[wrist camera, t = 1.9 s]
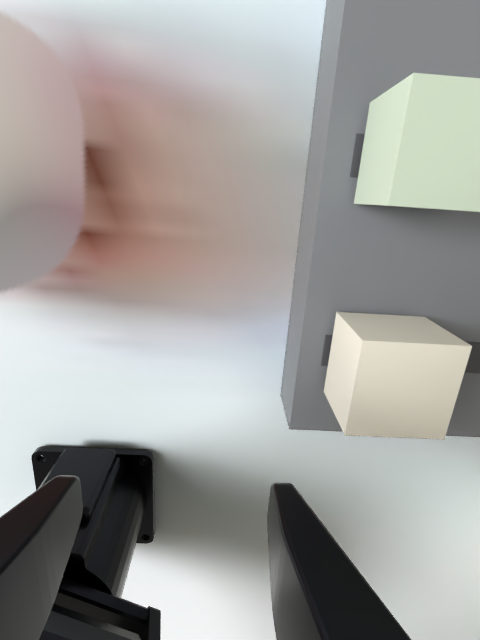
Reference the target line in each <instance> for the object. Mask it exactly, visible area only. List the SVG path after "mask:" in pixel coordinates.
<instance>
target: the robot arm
mask: <svg viewBox="0 0 480 640" xmlns="http://www.w3.org/2000/svg"><path fill="white" fill-rule="evenodd" d="M41 455H43V456H44V457H42V456H41ZM141 459H146V460H147V461H143V460H141ZM32 464H33V471H34V477H35V484H36V491H35V492H34V493H32V494H31V495H30V496H28V497H27V498H26V499H24V500H23V501H22V502H20V503H19V504H18V505H16V506H15V507H13V508H12V509H11V510H9V511H8V512H7V513H5V514H4V515H3V516H1V517H0V640H160V618H161V612H160V610H158V609H155V608H153V607H150V606H149V607H148V608H146V607H143V606H140V605H138V604H135V603H132V602H130V601H127V600H125V599H122V598H121V596H122V592H123V589H124V585H125V581H126V578H127V574H128V570H129V567H130V563H131V559H132V556H133V552H134V548H135V545H136V543H150V542H152V541H153V538H154V534H155V492H154V456H153V454H152V453H151V452H150V451H147V450H131V449H104V448H77V447H51V446H42V447H39V448H37V449H36V451H35V452H34V453H33V455H32ZM267 527H268V545H269V563H270V581H271V598H272V610H273V618H274V625H275V632H276V638H277V640H411V639H410V637H409V636H408V635H407V634H406V632H405V631H404V630H403V628H402V627H401V626H400V624H399V623H398V622H397V620H396V619H395V618H394V617H393V615H392V614H391V613H390V611H389V610H388V609H387V607H386V606H385V605H384V603H383V602H382V601H381V600H380V598H379V597H378V596H377V594H376V593H375V592H374V590H373V589H372V588H371V586H370V585H369V584H368V583H367V581H366V580H365V579H364V577H363V576H362V575H361V573H360V572H359V571H358V569H357V568H356V567H355V566H354V564H353V563H352V562H351V560H350V559H349V558H348V556H347V555H346V554H345V552H344V551H343V550H342V549H341V547H340V546H339V545H338V543H337V542H336V541H335V539H334V538H333V537H332V535H331V534H330V533H329V532H328V530H327V529H326V528H325V526H324V525H323V524H322V522H321V521H320V520H319V518H318V517H317V516H316V515H315V513H314V512H313V511H312V509H311V508H310V507H309V505H308V504H307V503H306V501H305V500H304V499H303V498H302V496H301V495H300V494H299V492H298V491H297V490H296V488H295V487H294V486H293V485H292V484H290V483H273V484H272V485H271V489H270V498H269V506H268V516H267Z"/></svg>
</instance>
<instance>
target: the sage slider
mask: <svg viewBox="0 0 480 640" xmlns="http://www.w3.org/2000/svg"><path fill="white" fill-rule="evenodd" d="M354 204H366V205H380V206H395V207H409V208H424V209H438V210H453V211H469V212H480V78H469V77H458V76H446V75H435V74H423V73H413V74H411V75H410V76H408V77H407V78H405V79H404V80H402V81H401V82H399V83H398V84H396V85H395V86H393V87H392V88H390V89H389V90H388V91H386V92H385V93H383V94H382V95H380V96H379V97H377V98H376V99H374V100H373V101H371V102H370V105H369V112H368V118H367V124H366V130H365V137H364V143H363V149H362V155H361V162H360V168H359V174H358V180H357V187H356V193H355V199H354Z"/></svg>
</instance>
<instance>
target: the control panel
mask: <svg viewBox="0 0 480 640" xmlns="http://www.w3.org/2000/svg"><path fill="white" fill-rule="evenodd" d="M413 73H423V74H435V75H446V76H458V77H469V78H480V0H327V1H326V10H325V18H324V27H323V35H322V44H321V53H320V61H319V70H318V78H317V87H316V96H315V104H314V113H313V121H312V130H311V139H310V147H309V156H308V164H307V173H306V182H305V190H304V199H303V207H302V216H301V224H300V233H299V242H298V250H297V259H296V267H295V276H294V285H293V293H292V302H291V310H290V319H289V328H288V336H287V345H286V353H285V362H284V371H283V379H282V388H281V398H282V402H283V406H284V410H285V414H286V418H287V422H288V426H289V429H296V430H321V431H342V429H341V427H340V425H339V422H338V420H337V418H336V416H335V414H334V412H333V410H332V408H331V406H330V404H329V402H328V399H327V397H326V395H325V393H324V386H325V380H326V374H327V367H328V361H329V355H330V349H331V343H332V336H333V330H334V324H335V318H336V312H349V313H367V314H385V315H403V316H421V317H426V318H428V319H429V320H431V321H432V322H434V323H436V324H437V325H439V326H440V327H442V328H444V329H445V330H447V331H449V332H450V333H452V334H453V335H455V336H457V337H458V338H460V339H462V340H463V341H465V342H466V343H468V344H470V345H471V346H472V349H471V352H470V355H469V359H468V362H467V366H466V369H465V372H464V376H463V379H462V382H461V386H460V389H459V392H458V396H457V399H456V402H455V406H454V409H453V412H452V416H451V419H450V422H449V426H448V429H447V432H446V436H468V437H480V212H469V211H453V210H438V209H424V208H409V207H395V206H380V205H366V204H354V199H355V193H356V187H357V180H358V174H359V168H360V162H361V155H362V149H363V143H364V137H365V130H366V124H367V118H368V112H369V105H370V102H371V101H373V100H374V99H376V98H377V97H379V96H380V95H382V94H383V93H385V92H386V91H388V90H389V89H390V88H392V87H393V86H395V85H396V84H398V83H399V82H401V81H402V80H404V79H405V78H407V77H408V76H410V75H411V74H413Z"/></svg>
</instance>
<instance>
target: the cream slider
mask: <svg viewBox="0 0 480 640" xmlns="http://www.w3.org/2000/svg"><path fill="white" fill-rule="evenodd" d="M471 349H472V346H471V345H470V344H468V343H466V342H465V341H463V340H462V339H460V338H458V337H457V336H455V335H453V334H452V333H450V332H449V331H447V330H445V329H444V328H442V327H440V326H439V325H437V324H436V323H434V322H432V321H431V320H429V319H428V318H426V317H421V316H403V315H385V314H367V313H349V312H336V318H335V324H334V330H333V336H332V343H331V349H330V355H329V361H328V367H327V374H326V380H325V386H324V393H325V395H326V397H327V399H328V402H329V404H330V406H331V408H332V410H333V412H334V414H335V416H336V418H337V420H338V422H339V425H340V427H341V429H342V431H343V433H344V435H348V436H373V437H398V438H422V439H445V436H446V432H447V429H448V426H449V422H450V419H451V416H452V412H453V409H454V406H455V402H456V399H457V396H458V392H459V389H460V386H461V382H462V379H463V376H464V372H465V369H466V366H467V362H468V359H469V355H470V352H471Z"/></svg>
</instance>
